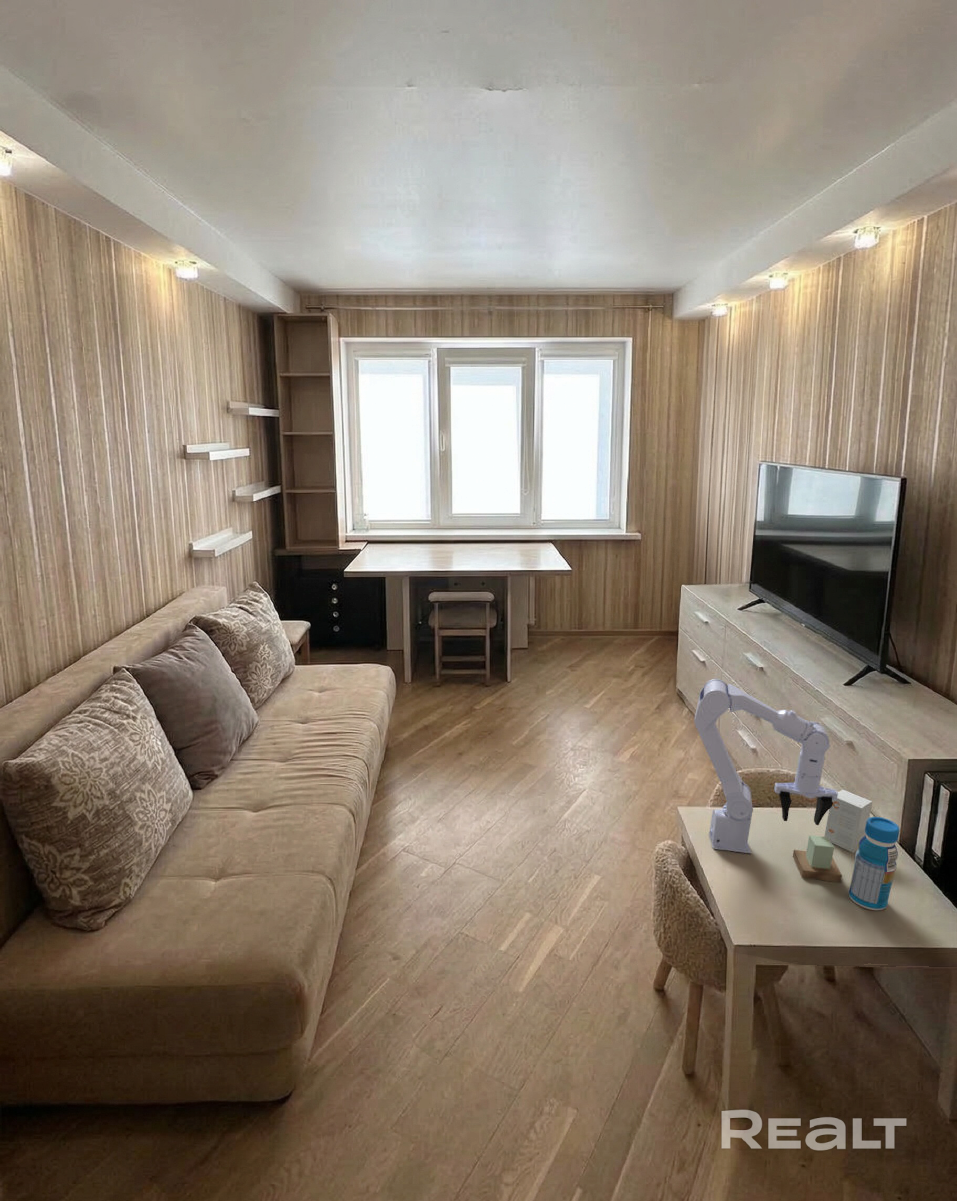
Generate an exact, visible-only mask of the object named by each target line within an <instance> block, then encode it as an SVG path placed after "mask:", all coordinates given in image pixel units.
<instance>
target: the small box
mask: <svg viewBox="0 0 957 1201" xmlns="http://www.w3.org/2000/svg"><path fill="white" fill-rule="evenodd" d="M837 793H838V796H837V800H832V802H833V805H832V807H831V808H830V809H829V810H828V816H827V820H826V825H825V830H824V836H823V837H828V838H829V839H830V841H831V843H832V844H833V845H836V846H838V847H840V848H842V849H843V850H846V851H848V852H850V853H852V854H853V853H856V852H857V851H858V850H859V848H858V844H859V842H860V840H861V839H862V838H863V837H864V836H865V835H866V834H865V827H866V822H867V820H868V818H870V816H871V813H872V812H871V811H872V807H873V801H872V800H869V799H867V798H865V797H862V796H860V795H857V794H855V793H852V792H850V791H848V790H845V789H841V790H840V791H837Z"/></svg>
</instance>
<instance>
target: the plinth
mask: <svg viewBox="0 0 957 1201" xmlns="http://www.w3.org/2000/svg"><path fill="white" fill-rule="evenodd" d="M806 851H807V850H798V849H793V853H792V858H794V859H793V861H794V863H795V866H796V868H797V870H798V872H799V874H800V877H801V878H803V879H810V880H811V879H812V880H819V881H827V882H834V883H841V881H842V876H843V874H842V873H841V870H840V869H839V867H838V865H837V863H836V861H835V860H834V858H833V857H834V856H833V857H832V862H831V867H830V869H824V868H816V867H811V866H810V864H809V862H808V860H807V858H806Z"/></svg>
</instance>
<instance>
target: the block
mask: <svg viewBox="0 0 957 1201" xmlns="http://www.w3.org/2000/svg"><path fill="white" fill-rule="evenodd" d="M834 850H835V846H834V844H833V843H831V841H830V839H829V838H828V837H824V836H819V835H808V842H807V846H806V850H805V851H806V858H807V860H808V862H809V864H810V866H811V867H816V868H824V869H830V867H831V862H832V857H834Z"/></svg>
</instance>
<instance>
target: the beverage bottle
mask: <svg viewBox="0 0 957 1201" xmlns="http://www.w3.org/2000/svg"><path fill="white" fill-rule="evenodd" d="M865 834H866V835H865V836H864V837H863V838H862V839H861V840H860V842H859V844H858V848H859V849H858V850H857V851H855V855H854V865H853V870H852V873H851V874H852V875H851V880H850V883H849V884H850V885H849V889H848V895H849V898H850V899H851V901H853V903H854V904H856V905H858V907H859V906H860V907H861V908H864V909H866V910H872V911H883V910H885V909H886V908H887V907H888V903H889V899H890V893H891V889H892V885H893V879H894V876H895V872H896V869H897V860H898V858H899V853H898V852H899V851H898V848H897V846H896V843H897V842H898V839H899V835H900V827H899V825H898V824H897V823H895V822H894V821H893V820H891V819H888V818H886V817H885V818H884V817H880V816H872V817H869V818H868V820H867V822H866V827H865Z"/></svg>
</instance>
